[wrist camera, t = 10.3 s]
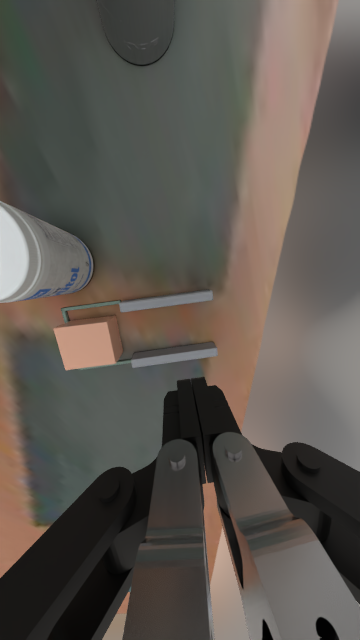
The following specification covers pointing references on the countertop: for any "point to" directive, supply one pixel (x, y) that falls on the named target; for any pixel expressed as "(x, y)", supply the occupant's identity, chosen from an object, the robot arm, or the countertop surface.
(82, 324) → the block
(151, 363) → the chute
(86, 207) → the countertop surface
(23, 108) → the countertop surface
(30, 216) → the supplement tub
